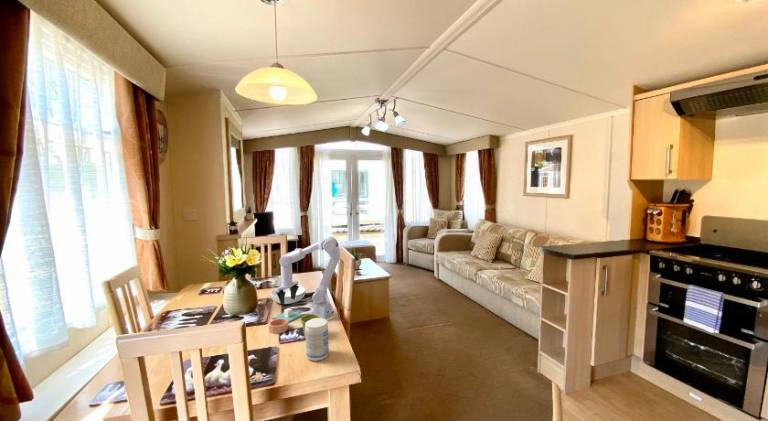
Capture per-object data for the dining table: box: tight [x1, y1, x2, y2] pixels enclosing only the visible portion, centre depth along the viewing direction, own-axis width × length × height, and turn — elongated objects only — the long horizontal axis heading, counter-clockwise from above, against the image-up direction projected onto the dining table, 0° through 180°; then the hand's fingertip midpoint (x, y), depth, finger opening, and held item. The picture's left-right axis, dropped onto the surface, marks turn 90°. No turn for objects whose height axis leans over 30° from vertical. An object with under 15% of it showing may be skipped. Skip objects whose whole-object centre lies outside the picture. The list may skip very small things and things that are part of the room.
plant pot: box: [299, 313, 320, 338], centre depth 154 cm, size 9×9×9 cm
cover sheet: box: [272, 307, 304, 324], centre depth 175 cm, size 11×11×4 cm
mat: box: [270, 313, 306, 325], centre depth 175 cm, size 13×13×1 cm
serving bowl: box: [269, 285, 307, 305], centre depth 198 cm, size 21×21×7 cm
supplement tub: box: [304, 318, 330, 362], centre depth 136 cm, size 10×10×15 cm
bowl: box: [268, 319, 289, 335], centre depth 160 cm, size 9×9×4 cm
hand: (287, 301), depth 174 cm, fingers open, 7 cm apart
